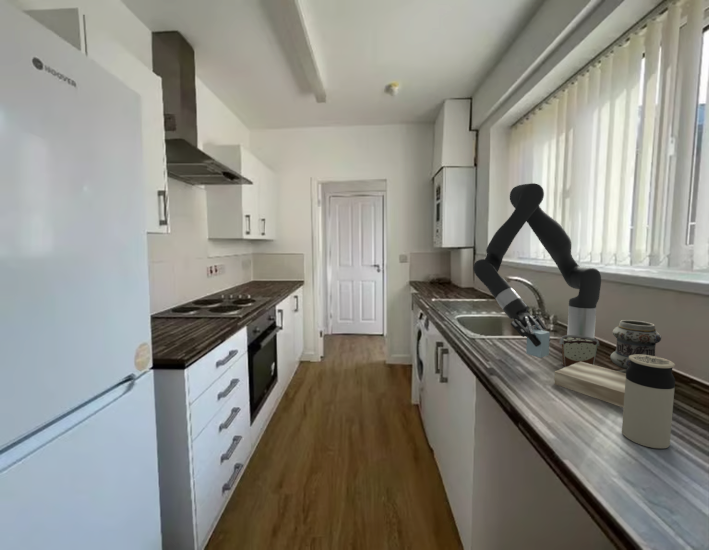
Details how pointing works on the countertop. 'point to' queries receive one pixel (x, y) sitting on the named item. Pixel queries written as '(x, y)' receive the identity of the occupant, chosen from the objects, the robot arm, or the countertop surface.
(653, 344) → the apothecary jar
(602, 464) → the countertop surface
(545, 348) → the blue-grey block
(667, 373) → the travel mug
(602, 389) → the birch base
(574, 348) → the food container
